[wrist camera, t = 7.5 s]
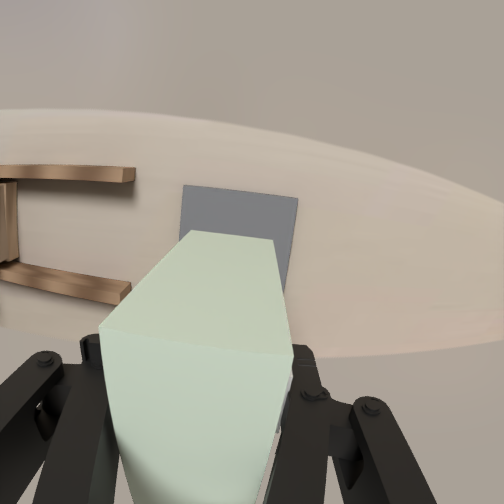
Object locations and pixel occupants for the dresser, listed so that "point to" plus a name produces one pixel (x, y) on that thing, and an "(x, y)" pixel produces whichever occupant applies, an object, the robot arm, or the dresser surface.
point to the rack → (59, 279)
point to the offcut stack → (8, 221)
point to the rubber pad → (241, 217)
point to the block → (199, 371)
